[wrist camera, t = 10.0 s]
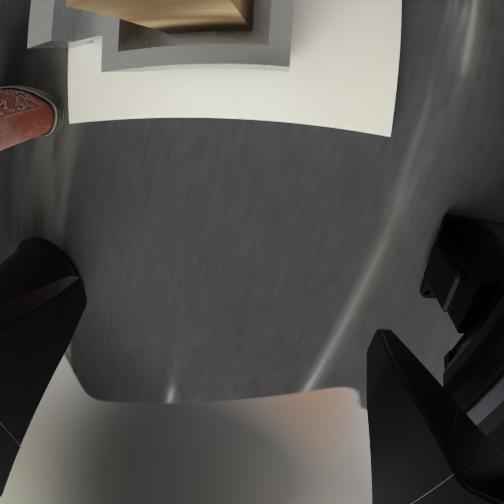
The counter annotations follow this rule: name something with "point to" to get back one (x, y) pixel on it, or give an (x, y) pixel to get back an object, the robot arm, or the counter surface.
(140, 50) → the bracket
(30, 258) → the aerosol can
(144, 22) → the oak rail post
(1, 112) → the lighter
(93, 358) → the counter surface
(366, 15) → the bracket board
